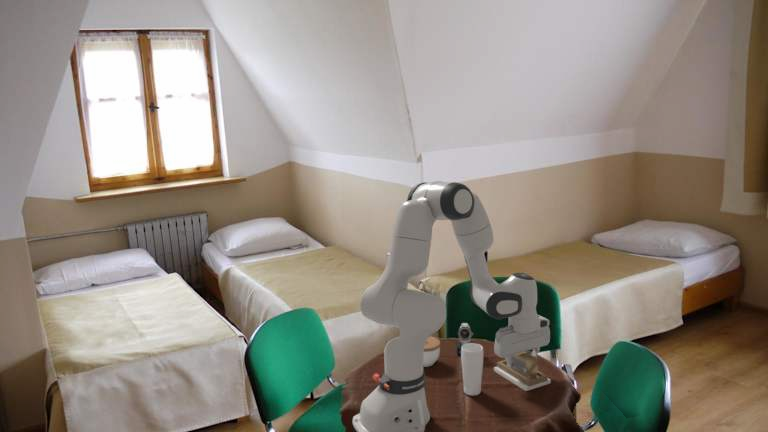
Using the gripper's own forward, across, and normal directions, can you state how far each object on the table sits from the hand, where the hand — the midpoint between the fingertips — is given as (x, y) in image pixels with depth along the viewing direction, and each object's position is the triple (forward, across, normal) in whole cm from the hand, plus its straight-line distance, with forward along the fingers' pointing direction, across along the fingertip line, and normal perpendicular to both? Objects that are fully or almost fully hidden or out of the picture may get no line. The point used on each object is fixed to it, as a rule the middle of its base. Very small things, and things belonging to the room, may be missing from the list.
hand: (521, 363), depth 197 cm
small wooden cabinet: (+5, 0, 0) cm, 5 cm away
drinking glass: (+5, -19, 0) cm, 20 cm away
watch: (+5, -5, +24) cm, 25 cm away
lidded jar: (+5, -21, +25) cm, 33 cm away
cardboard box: (+4, 0, 0) cm, 4 cm away
